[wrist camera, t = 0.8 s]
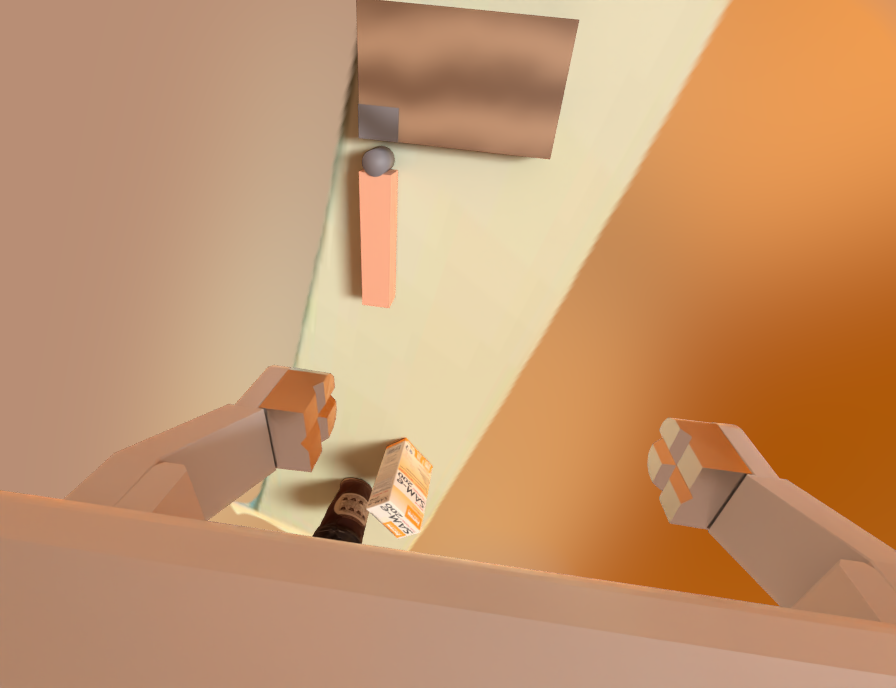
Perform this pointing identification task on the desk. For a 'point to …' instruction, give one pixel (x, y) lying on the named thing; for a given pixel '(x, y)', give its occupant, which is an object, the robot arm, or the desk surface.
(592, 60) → the desk surface
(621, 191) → the desk surface
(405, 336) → the desk surface
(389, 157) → the stool leg
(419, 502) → the supplement box
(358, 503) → the coffee cup
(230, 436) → the robot arm
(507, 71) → the seat block
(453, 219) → the desk surface
